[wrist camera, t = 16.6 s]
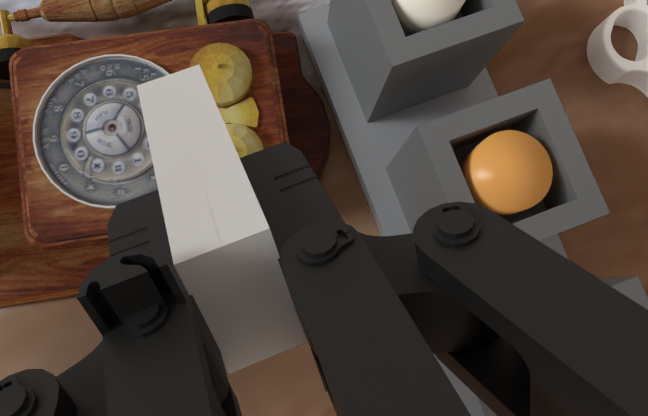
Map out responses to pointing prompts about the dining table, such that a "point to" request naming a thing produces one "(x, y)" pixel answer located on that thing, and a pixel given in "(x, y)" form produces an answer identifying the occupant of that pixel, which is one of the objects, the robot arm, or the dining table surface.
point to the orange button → (507, 172)
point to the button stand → (443, 120)
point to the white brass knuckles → (606, 61)
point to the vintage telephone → (123, 125)
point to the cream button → (425, 13)
